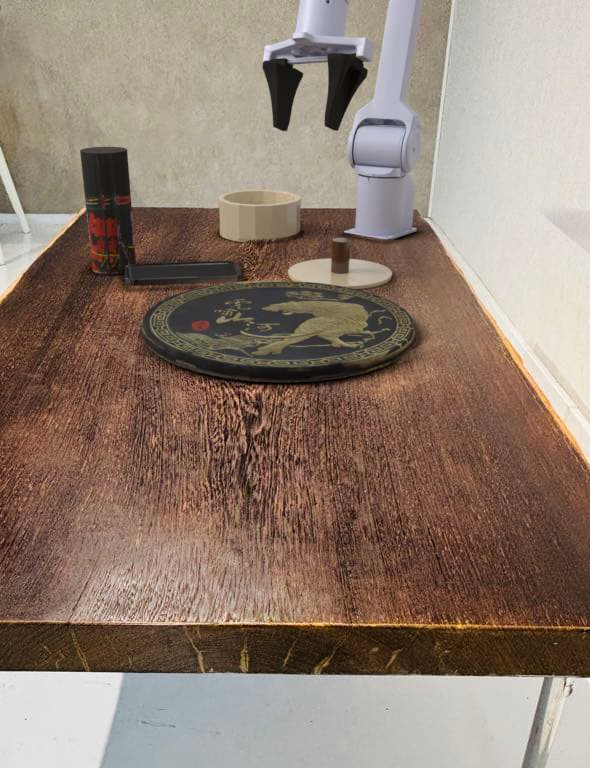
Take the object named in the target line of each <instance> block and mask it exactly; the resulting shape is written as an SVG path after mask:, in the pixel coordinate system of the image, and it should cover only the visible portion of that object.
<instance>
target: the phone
mask: <svg viewBox="0 0 590 768" xmlns="http://www.w3.org/2000/svg"><path fill="white" fill-rule="evenodd" d="M242 280H243V275H242V270H241V269H240V265H239V264H238V262H237V261H234V260H220V261H219V260H218V261H217V260H215V261H191V262H188V261H187V262H160V263H136V264H131V265H127V266H125V274H124V285H127V286H131V287H132V286H135V287H136V286H159V285H160V286H162V285H190V284H193V285H194V284H215V283H216V284H218V283H220V284H222V283H235V282H242Z"/></svg>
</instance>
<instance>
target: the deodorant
mask: <svg viewBox="0 0 590 768" xmlns="http://www.w3.org/2000/svg"><path fill="white" fill-rule="evenodd" d="M79 153H80V163H81V172H82V184H83V191H84V192H83V193H84V201H85V210H86V211H85V212H86V219H87V230H88V240H89V249H90V250H89V251H90V257H91V258H90V259H91V268H92V272H94V273H95V274H98V275H105V276H117V275H120V276H121V275H125V266H127V265H131V264H137V259H136V258H137V255H136V245H135V231H134V221H133V208H132V207H133V206H132V194H131V181H130V169H129V168H130V167H129V156H128V148H125V147H121V146H92V147H86V148H82V149H80V150H79Z"/></svg>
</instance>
